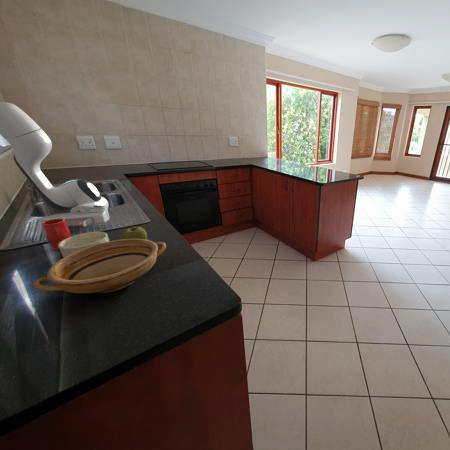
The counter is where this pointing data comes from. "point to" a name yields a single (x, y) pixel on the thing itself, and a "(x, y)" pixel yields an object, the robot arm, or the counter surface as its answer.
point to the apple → (134, 233)
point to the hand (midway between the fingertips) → (66, 226)
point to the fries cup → (56, 231)
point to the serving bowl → (81, 242)
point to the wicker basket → (102, 267)
